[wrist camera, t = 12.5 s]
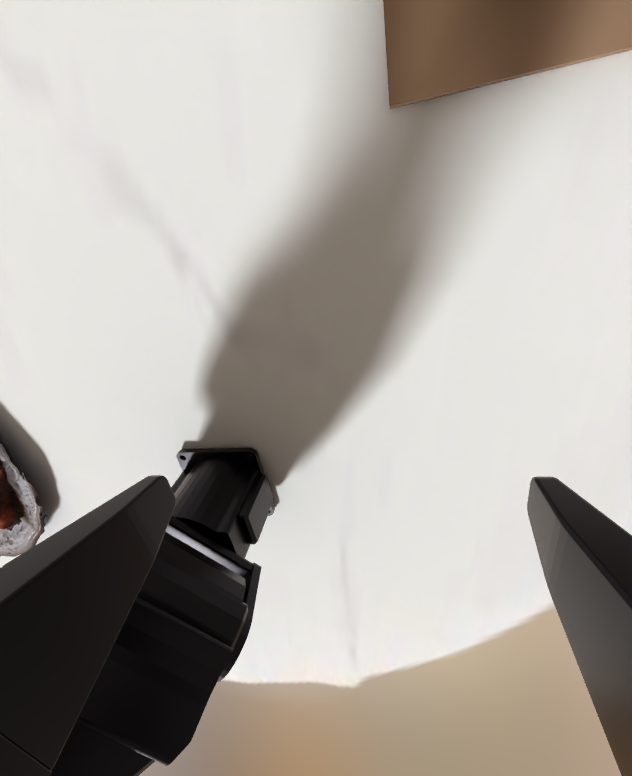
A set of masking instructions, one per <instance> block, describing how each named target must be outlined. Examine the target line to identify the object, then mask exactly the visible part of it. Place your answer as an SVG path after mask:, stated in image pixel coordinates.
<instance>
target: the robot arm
mask: <svg viewBox="0 0 632 776" xmlns="http://www.w3.org/2000/svg"><path fill="white" fill-rule="evenodd" d="M249 454H250V455H252V456H250V455H249ZM177 459H178V461H179V463H180V466H181V468H182V470H183V472H182V474H181V475H180V476H179V478H178V479H177V481H176V482H175V483H174V485H173V486H172V487H170V485H169V483H168V480H167V479H166V478H165V477H164V476H161V475H152V476H148V477H146V478H144V479H143V480H141V481H140V482H138V483H136V484H135V485H133V486H131V487H130V488H128V489H127V490H125V491H123V492H122V493H120V494H119V495H117V496H115V497H114V498H112V499H110V500H109V501H107V502H106V503H104V504H102V505H101V506H99V507H97V508H96V509H94V510H93V511H91V512H89V513H88V514H86V515H84V516H83V517H81V518H80V519H78V520H76V521H75V522H73V523H72V524H70V525H68V526H67V527H65V528H63V529H62V530H60V531H59V532H57V533H55V534H54V535H52V536H50V537H49V538H47V539H46V540H44V541H42V542H41V543H39V544H37V545H36V546H34V547H33V548H31V549H29V550H28V551H26V552H25V553H23V554H21V555H20V556H18V557H16V558H15V559H13V560H12V561H10V562H8V563H7V564H5V565H4V566H3V567H2V568H0V776H139V775H140V774H141V773H142V772H143V771H144V770H145V769H147V768H148V767H149V766H150V765H151V764H152V763H154V762H155V761H157V762H159V763H161V764H163V765H165V766H167V765H169V764H170V763H172V762H173V760H174V759H175V758H176V757H177V756H178V755H179V754H180V753H181V752H182V751H183V750H184V749H185V747H186V746H187V745H188V744H189V743H190V741H191V740H192V737H193V735H194V733H195V730H196V728H197V725H198V723H199V721H200V718H201V716H202V713H203V711H204V709H205V706H206V704H207V701H208V699H209V697H210V695H211V693H212V691H213V688H214V687H215V685H216V683H217V682H219V681H221V680H222V679H223V678H224V677H225V676H226V675H227V674H228V673H229V671H230V670H231V668H232V667H233V665H234V663H235V662H236V660H237V658H238V656H239V654H240V652H241V650H242V648H243V646H244V644H245V641H246V639H247V636H248V633H249V630H250V626H251V622H252V617H253V611H254V606H255V600H256V594H257V588H258V583H259V577H260V571H261V566H259V565H257V564H256V563H251V562H249V561H248V560H246V559H245V556H246V554H247V551H248V549H249V546H250V544H256V542H257V541H258V539H259V537H260V534H261V531H262V529H263V526H264V523H265V521H266V518H267V516H270V515H272V514H273V513H274V510H275V507H274V504H273V495H272V492H271V489H270V485H269V482H268V479H267V476H266V475H265V473H264V472H263V468H262V465H261V462H260V459H259V455H258V453H257V451H256V450H255V449H252V448H226V449H182V450H180V451H179V452H178V454H177ZM527 509H528V516H529V519H530V523H531V527H532V531H533V534H534V538H535V542H536V546H537V549H538V553H539V557H540V560H541V564H542V568H543V572H544V575H545V579H546V582H547V586H548V589H549V591H550V594H551V597H552V600H553V602H554V605H555V607H556V610H557V612H558V615H559V617H560V620H561V623H562V625H563V627H564V630H565V632H566V635H567V638H568V640H569V643H570V645H571V648H572V651H573V653H574V656H575V658H576V661H577V663H578V666H579V668H580V671H581V673H582V676H583V679H584V681H585V684H586V686H587V689H588V691H589V694H590V696H591V699H592V701H593V704H594V707H595V709H596V712H597V714H598V717H599V719H600V722H601V724H602V727H603V729H604V732H605V734H606V737H607V740H608V742H609V745H610V747H611V750H612V752H613V755H614V757H615V760H616V762H617V765H618V767H619V770H620V772H621V775H622V776H632V535H630V534H629V533H628V532H627V531H625V530H624V529H623V528H621V527H620V526H619V525H617V524H616V523H615V522H613V521H612V520H611V519H609V518H608V517H607V516H605V515H604V514H603V513H602V512H600V511H599V510H598V509H596V508H595V507H594V506H592V505H591V504H590V503H588V502H587V501H586V500H584V499H583V498H582V497H581V496H579V495H578V494H577V493H575V492H574V491H573V490H571V489H570V488H569V487H567V486H566V485H565V484H563V483H562V482H561V481H559V480H558V479H557V478H554V477H534V478H532V480H531V483H530V490H529V497H528V504H527Z"/></svg>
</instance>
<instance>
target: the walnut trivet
mask: <svg viewBox="0 0 632 776" xmlns="http://www.w3.org/2000/svg"><path fill="white" fill-rule="evenodd" d="M383 1H384V18H385V35H386V52H387V69H388V85H389V102H390V109H391V108H395V107H399V106H403V105H407V104H411V103H415V102H420V101H424V100H428V99H432V98H436V97H440V96H444V95H448V94H452V93H457V92H461V91H465V90H469V89H473V88H477V87H481V86H485V85H489V84H494V83H498V82H502V81H506V80H510V79H514V78H518V77H522V76H526V75H531V74H535V73H539V72H543V71H547V70H551V69H555V68H559V67H563V66H568V65H572V64H576V63H580V62H584V61H588V60H592V59H596V58H600V57H605V56H609V55H613V54H617V53H621V52H625V51H629V50H632V0H383Z"/></svg>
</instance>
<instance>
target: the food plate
mask: <svg viewBox="0 0 632 776" xmlns="http://www.w3.org/2000/svg"><path fill="white" fill-rule="evenodd" d="M22 476H23V477H24V480H23V478H22ZM22 476H21V475H20V473H19V470H18V469H17V468H16V467H15V466H14V465H13V464H12V463H11V461H10V458H9V456H8V454H7V452H6V450H5V449H4V447H3V445H2V444H1V443H0V556H12V557H13V556H18V555H20V554H23V553H25V552H26V551H28V550H29V549H31V548H33V547H34V546H35V545H36V543H37V541H38V539H39V537H40V535H41V534H43V533H44V531H45V530H44V529H43V528H44V526H45V523H44V520H43V519H44V518H45V516H48V515H45V516H44V517H43V518H42V519H40V518H39V516H41V514H42V512H43V510H44V509H43V507H42V506H38V505H37V504H36V501H35V499H37V498H38V492H37V491H36V489H34V488H33V486H32V485H31V484H29V483H28V481H27V480H26V478H25V476H24V473H23V472H22Z"/></svg>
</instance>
